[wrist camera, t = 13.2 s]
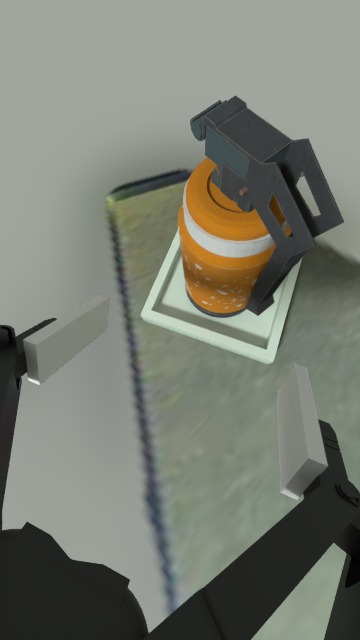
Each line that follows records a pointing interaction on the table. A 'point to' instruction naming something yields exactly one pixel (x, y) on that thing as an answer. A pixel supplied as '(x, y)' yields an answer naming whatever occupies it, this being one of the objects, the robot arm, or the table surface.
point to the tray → (227, 333)
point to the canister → (247, 211)
